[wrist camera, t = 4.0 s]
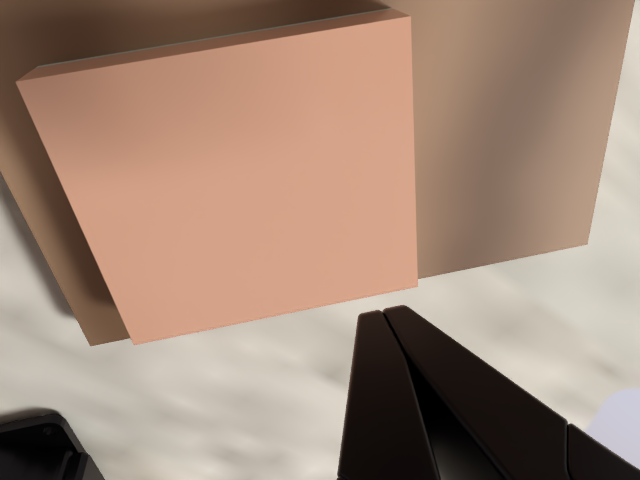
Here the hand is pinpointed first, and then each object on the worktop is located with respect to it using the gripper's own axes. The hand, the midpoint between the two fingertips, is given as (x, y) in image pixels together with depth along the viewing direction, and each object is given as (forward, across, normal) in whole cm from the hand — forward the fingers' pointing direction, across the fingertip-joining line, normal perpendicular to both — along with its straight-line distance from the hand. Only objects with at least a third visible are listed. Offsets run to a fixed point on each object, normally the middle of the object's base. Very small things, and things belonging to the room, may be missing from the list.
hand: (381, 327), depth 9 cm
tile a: (+6, -2, 0) cm, 7 cm away
